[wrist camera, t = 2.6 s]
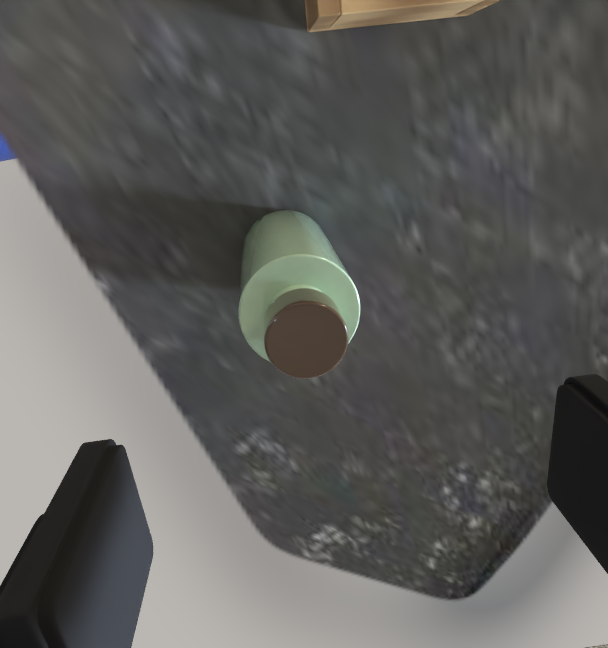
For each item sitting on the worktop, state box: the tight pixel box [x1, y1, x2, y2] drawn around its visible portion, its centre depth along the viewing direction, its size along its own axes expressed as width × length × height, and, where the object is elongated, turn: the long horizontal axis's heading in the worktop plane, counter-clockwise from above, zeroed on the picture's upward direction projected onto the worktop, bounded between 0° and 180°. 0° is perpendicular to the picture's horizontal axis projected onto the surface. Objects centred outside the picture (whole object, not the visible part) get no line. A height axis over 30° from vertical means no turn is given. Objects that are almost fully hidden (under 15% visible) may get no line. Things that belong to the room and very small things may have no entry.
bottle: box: [238, 210, 360, 379], centre depth 22 cm, size 5×5×12 cm
